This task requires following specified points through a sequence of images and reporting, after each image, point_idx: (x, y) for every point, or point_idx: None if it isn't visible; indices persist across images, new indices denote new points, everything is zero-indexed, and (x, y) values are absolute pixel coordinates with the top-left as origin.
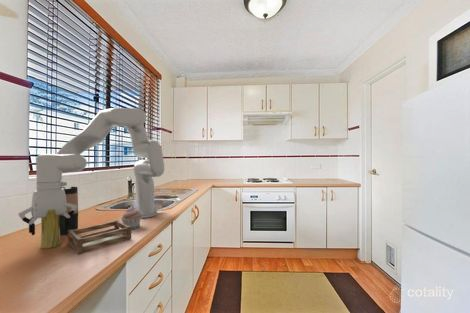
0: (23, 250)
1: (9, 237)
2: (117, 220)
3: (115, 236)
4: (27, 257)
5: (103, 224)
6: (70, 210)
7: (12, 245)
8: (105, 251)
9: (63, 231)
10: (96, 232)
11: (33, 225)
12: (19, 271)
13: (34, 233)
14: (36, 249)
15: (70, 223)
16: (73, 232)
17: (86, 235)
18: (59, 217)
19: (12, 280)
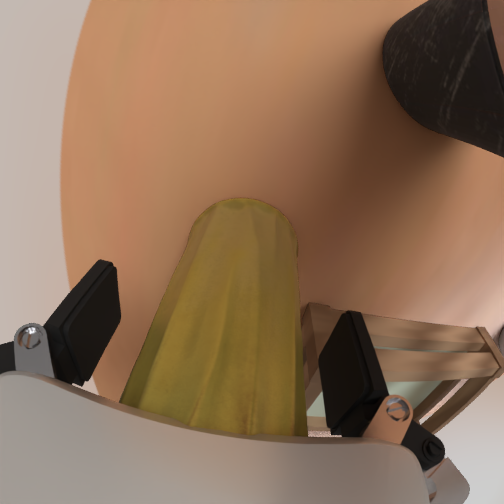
0: (121, 189)
1: None
2: (499, 375)
3: (414, 391)
4: (128, 306)
5: (460, 376)
6: (425, 464)
7: (108, 29)
8: (311, 432)
9: (408, 100)
10: (426, 347)
11: (81, 377)
12: (114, 375)
13: (115, 326)
14: (170, 239)
15: (479, 145)
16: (310, 403)
17: (386, 345)
18: (477, 57)
19: (108, 394)
